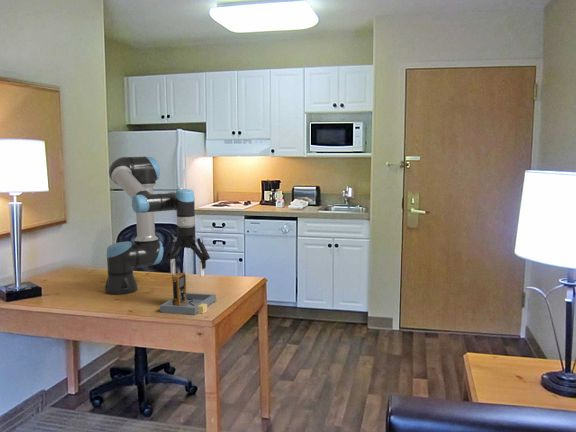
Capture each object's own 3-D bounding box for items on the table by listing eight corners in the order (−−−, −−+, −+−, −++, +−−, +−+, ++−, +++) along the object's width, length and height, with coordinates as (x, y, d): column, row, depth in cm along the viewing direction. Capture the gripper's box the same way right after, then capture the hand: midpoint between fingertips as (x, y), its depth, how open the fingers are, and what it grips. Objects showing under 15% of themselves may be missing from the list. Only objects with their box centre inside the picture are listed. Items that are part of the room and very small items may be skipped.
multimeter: (191, 309, 214) (189, 262, 212) (169, 308, 217) (167, 261, 214) (205, 300, 229) (203, 256, 226) (184, 298, 231) (182, 255, 229)
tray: (160, 312, 213) (159, 305, 213) (183, 298, 233) (183, 292, 233) (200, 315, 208) (200, 308, 208) (221, 301, 228) (221, 294, 228)
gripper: (155, 226, 217) (157, 275, 220) (209, 228, 210) (210, 279, 213) (164, 223, 224) (165, 271, 227) (216, 225, 217) (217, 274, 220)
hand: (187, 275), depth 220 cm, fingers open, 13 cm apart
